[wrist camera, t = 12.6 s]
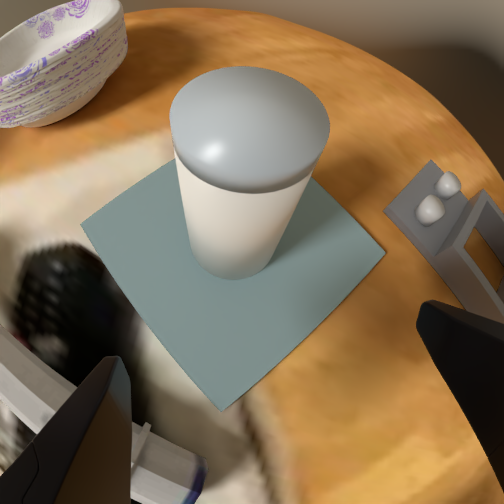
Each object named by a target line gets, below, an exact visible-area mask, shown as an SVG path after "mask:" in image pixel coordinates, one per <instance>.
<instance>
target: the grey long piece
mask: <svg viewBox="0 0 504 504" xmlns="http://www.w3.org/2000/svg"><path fill="white" fill-rule="evenodd" d="M76 389H77V387H76V386H75V385H73V384H72V383H70V382H69V381H68V380H66V379H65V378H64V377H62V376H61V375H59V374H58V373H57V372H55V371H54V370H53V369H52V368H50V367H49V366H48V365H46V364H45V363H44V362H43V361H41V360H40V359H39V358H38V357H36V356H35V355H34V354H33V353H32V352H30V351H29V350H28V349H27V348H26V347H25V346H23V345H22V344H21V343H20V342H19V341H18V340H17V339H16V338H14V337H13V336H12V335H11V334H10V333H9V332H8V331H7V330H6V329H5V328H4V327H3V326H2V325H1V324H0V400H1V401H2V402H3V403H4V404H5V405H6V406H7V407H8V408H9V409H10V410H11V411H12V412H13V413H14V414H15V415H16V416H17V417H19V418H20V419H21V420H22V421H23V422H24V423H25V424H26V425H27V426H28V427H29V428H31V429H32V430H33V431H34V432H35V433H36V434H38V433H39V432H40V430H41V429H42V428H43V427H44V426H45V424H46V423H47V422H48V421H49V420H50V419H51V417H52V416H53V415H54V414H55V413H56V412H57V410H58V409H59V408H60V407H61V406H62V405H63V403H64V402H65V401H66V400H67V399H68V398H69V397H70V395H71V394H72V393H73V392H74V391H75V390H76ZM150 428H151V425H150V424H149V423H147V422H145V424H144V426H143V427H141V426H139V425H137V424H135V423H134V422H132V452H131V498H132V499H134V500H136V501H138V502H140V503H142V504H194V503H195V502H196V500H197V499H198V497H199V496H200V494H201V491H202V488H203V485H204V482H205V479H206V476H207V472H208V469H209V468H208V465H207V462H206V459H205V458H203V457H201V456H199V455H196V454H194V453H192V452H190V451H188V450H186V449H183V448H181V447H179V446H177V445H175V444H173V443H171V442H169V441H167V440H165V439H163V438H161V437H159V436H158V435H156V434H154V433H152V432H150Z"/></svg>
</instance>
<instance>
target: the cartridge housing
mask: <svg viewBox="0 0 504 504" xmlns="http://www.w3.org/2000/svg"><path fill="white" fill-rule="evenodd" d="M460 189H461V183H460V181H459V179H458V178H457V176H456V175H455V174H453V173H452V172H449V171H447V172H446V173H445V174H444V172H443V171H442V170H441V169H440V168H439V167H438V166H437V165H436V164H435V163H434V162H433V161H432V160H430V161H429V162H428V163H427V164H426V165H425V166H424V168H423V169H422V170H421V171H420V172H419V173H418V174H417V175H416V176H415V177H414V178H413V180H412V181H411V182H410V183H409V184H408V185H407V186H406V187H405V188H404V189H403V190H402V191H401V192H400V194H399V195H398V196H397V197H396V198H395V199H394V200H393V201H392V202H391V203H390V204H389V205H388V206H387V207H386V208H385V209H384V210H383V212H384V213H385V214H386V215H387V216H388V217H389V218H390V219H391V220H392V221H393V222H394V223H395V225H396V226H397V227H398V228H399V229H400V230H401V231H402V232H403V233H404V234H405V236H406V237H407V238H408V239H409V240H410V241H411V242H412V243H413V245H414V246H415V247H416V248H417V249H418V250H419V251H420V253H421V254H422V255H423V256H424V257H425V258H426V260H427V261H428V262H429V263H430V264H431V266H432V267H433V268H434V269H435V270H436V272H437V273H438V274H439V275H440V277H441V278H442V279H443V280H444V282H445V283H446V284H447V285H448V287H449V288H450V289H451V291H452V292H453V293H454V294H455V296H456V297H457V298H458V300H459V301H460V302H461V304H462V305H463V306H464V308H465V309H466V311H468V312H471V313H474V314H477V315H480V316H483V317H486V318H488V319H491V320H494V321H497V322H500V323H503V324H504V276H503V278H502V281H501V283H500V286H499V288H498V291H497V293H496V292H495V290H494V289H493V287H492V286H491V284H490V283H489V281H488V280H487V278H486V277H485V276H484V274H483V273H482V271H481V270H480V269H479V267H478V266H477V265H476V263H475V262H474V261H473V259H472V258H471V257H470V255H469V254H468V253H467V251H466V250H465V249H464V248H463V247H464V245H465V243H466V241H467V239H468V237H469V236H470V234H471V232H472V230H473V228H474V226H475V228H476V229H477V230H478V232H479V233H480V234H481V235H482V237H483V238H484V239H485V241H486V242H487V244H488V245H489V246H490V248H491V249H492V250H493V252H494V253H495V255H496V256H497V257H498V259H499V260H500V262H501V263H502V265H503V266H504V214H503V213H502V212H501V210H500V209H499V208H498V206H497V205H496V204H495V202H494V201H493V200H492V199H491V197H490V196H489V195H488V194H487V192H486V191H485V190H484V189H482V190H481V191H479V192H478V193H477V194H476V195H475V196H474V197H472V198H471V199H470V200H469V201H468V200H467V198H466V197H465V196H464V195H463V194H462V192H461V191H460Z"/></svg>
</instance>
